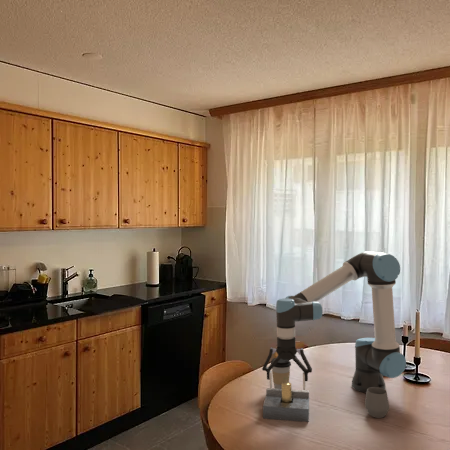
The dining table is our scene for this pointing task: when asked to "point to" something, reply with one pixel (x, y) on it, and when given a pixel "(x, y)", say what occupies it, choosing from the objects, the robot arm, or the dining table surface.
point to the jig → (286, 405)
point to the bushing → (286, 392)
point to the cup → (376, 402)
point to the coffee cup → (281, 372)
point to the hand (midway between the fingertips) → (287, 388)
